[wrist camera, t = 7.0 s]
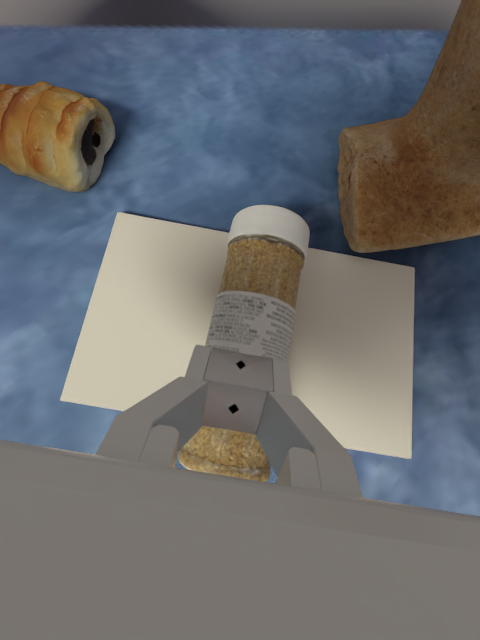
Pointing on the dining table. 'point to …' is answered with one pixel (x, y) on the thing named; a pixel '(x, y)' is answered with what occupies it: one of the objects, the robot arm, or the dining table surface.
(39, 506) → the robot arm
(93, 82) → the dining table surface
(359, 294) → the rubber mat
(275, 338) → the sprinkles bottle
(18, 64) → the dining table surface
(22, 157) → the pastry
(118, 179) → the dining table surface
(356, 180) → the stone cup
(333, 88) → the dining table surface
